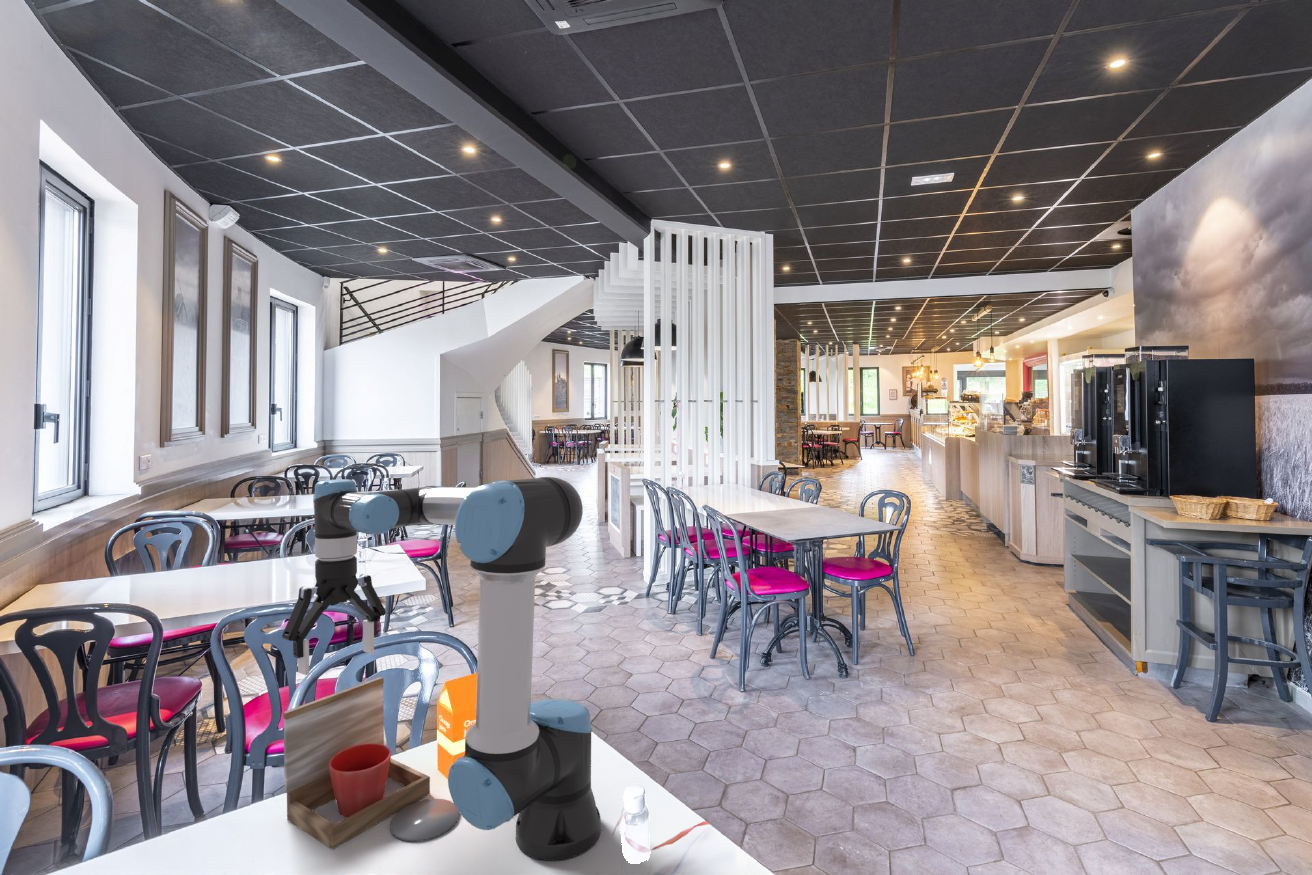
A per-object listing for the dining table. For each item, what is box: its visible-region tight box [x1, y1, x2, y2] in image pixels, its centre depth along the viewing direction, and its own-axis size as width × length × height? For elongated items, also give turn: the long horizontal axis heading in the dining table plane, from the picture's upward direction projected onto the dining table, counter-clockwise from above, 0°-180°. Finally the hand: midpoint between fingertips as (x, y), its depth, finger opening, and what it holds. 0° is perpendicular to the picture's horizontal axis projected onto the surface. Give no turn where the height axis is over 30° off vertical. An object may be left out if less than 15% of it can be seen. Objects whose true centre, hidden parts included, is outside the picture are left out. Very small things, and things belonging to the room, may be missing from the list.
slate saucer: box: [389, 798, 460, 843], centre depth 121 cm, size 12×12×1 cm
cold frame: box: [282, 676, 431, 850], centre depth 125 cm, size 17×20×20 cm
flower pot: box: [328, 743, 392, 819], centre depth 125 cm, size 11×11×10 cm
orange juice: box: [436, 672, 477, 780], centre depth 138 cm, size 8×9×20 cm
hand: (337, 662), depth 131 cm, fingers open, 13 cm apart
